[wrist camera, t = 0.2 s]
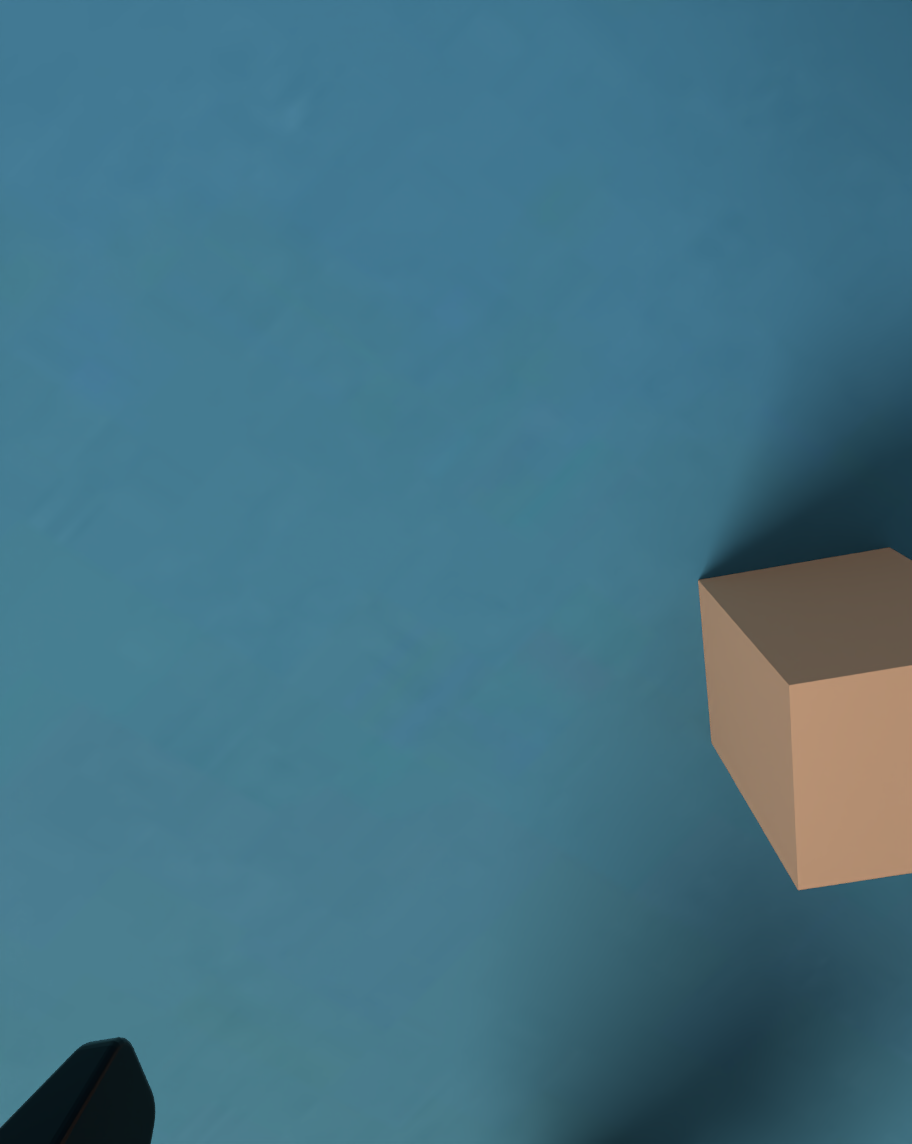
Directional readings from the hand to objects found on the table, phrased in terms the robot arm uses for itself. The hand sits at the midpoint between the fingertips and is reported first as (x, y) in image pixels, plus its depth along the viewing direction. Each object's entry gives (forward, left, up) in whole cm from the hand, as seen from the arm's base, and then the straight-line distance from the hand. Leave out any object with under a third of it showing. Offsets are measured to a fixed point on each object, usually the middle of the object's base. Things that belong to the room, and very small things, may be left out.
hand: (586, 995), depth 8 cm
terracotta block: (-4, -8, -14) cm, 17 cm away
